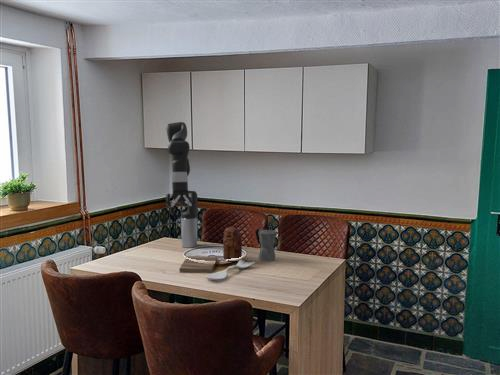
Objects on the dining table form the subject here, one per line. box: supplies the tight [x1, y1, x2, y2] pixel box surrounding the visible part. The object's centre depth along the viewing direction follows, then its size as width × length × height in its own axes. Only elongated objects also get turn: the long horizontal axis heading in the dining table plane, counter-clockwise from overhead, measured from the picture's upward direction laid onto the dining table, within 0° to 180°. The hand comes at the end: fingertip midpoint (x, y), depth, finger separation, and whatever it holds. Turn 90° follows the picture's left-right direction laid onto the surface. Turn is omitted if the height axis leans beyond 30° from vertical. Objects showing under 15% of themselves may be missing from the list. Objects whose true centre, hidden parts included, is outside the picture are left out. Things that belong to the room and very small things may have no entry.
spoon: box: [205, 258, 256, 281], centre depth 237 cm, size 9×32×4 cm, turn 146°
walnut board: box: [179, 255, 218, 274], centre depth 249 cm, size 22×16×2 cm
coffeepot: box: [255, 226, 278, 262], centre depth 261 cm, size 15×9×18 cm, turn 44°
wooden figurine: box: [222, 226, 243, 263], centre depth 258 cm, size 12×6×18 cm, turn 64°
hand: (181, 214), depth 239 cm, fingers open, 8 cm apart
